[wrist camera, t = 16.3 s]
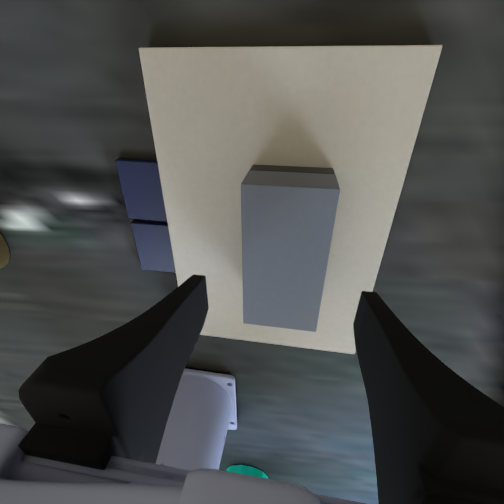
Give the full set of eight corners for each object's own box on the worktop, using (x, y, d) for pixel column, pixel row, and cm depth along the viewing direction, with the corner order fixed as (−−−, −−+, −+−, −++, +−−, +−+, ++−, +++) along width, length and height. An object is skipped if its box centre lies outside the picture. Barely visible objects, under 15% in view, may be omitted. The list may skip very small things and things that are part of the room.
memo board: (352, 344, 24) (354, 354, 23) (189, 324, 26) (185, 333, 25) (434, 46, 13) (443, 44, 12) (147, 49, 15) (137, 47, 14)
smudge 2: (171, 219, 20) (168, 222, 20) (131, 215, 21) (127, 218, 20) (163, 161, 18) (160, 162, 18) (119, 158, 18) (114, 160, 18)
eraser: (252, 163, 16) (240, 183, 13) (333, 167, 16) (340, 188, 13) (251, 288, 21) (243, 323, 18) (314, 295, 20) (316, 332, 17)
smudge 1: (180, 269, 22) (178, 273, 22) (144, 265, 23) (141, 269, 22) (173, 222, 20) (170, 226, 20) (133, 220, 21) (130, 222, 20)
